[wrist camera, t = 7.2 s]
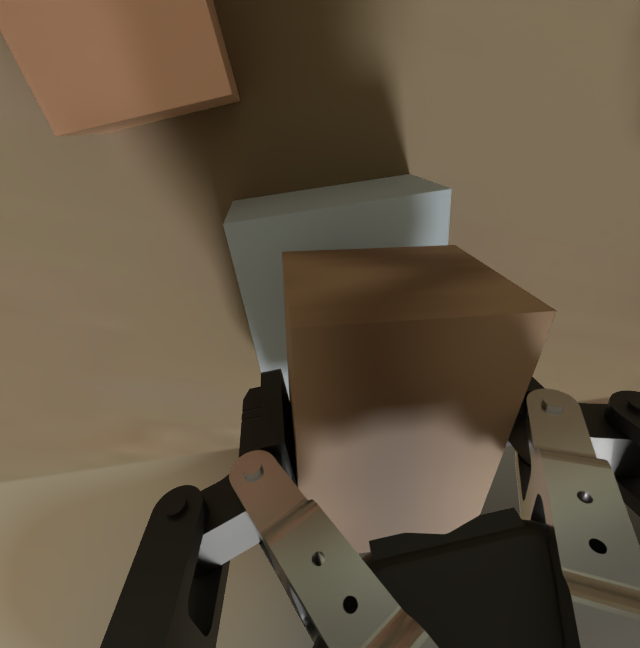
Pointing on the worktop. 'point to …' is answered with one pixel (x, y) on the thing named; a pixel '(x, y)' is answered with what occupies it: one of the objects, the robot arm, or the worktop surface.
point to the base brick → (323, 240)
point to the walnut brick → (404, 383)
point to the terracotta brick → (118, 60)
